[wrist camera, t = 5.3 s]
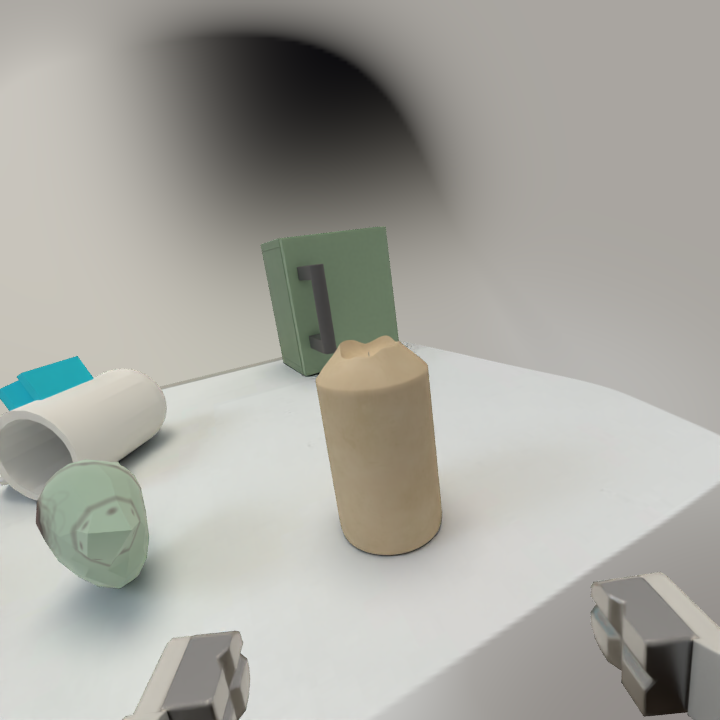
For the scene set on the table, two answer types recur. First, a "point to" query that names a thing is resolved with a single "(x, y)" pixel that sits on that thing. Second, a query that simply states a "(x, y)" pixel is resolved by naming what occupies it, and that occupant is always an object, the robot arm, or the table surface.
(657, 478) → the table surface
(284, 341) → the cabinet
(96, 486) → the robot head
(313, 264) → the door
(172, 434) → the table surface
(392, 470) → the candle
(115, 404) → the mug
